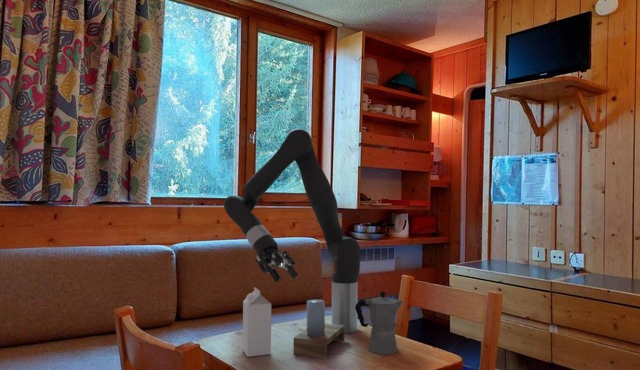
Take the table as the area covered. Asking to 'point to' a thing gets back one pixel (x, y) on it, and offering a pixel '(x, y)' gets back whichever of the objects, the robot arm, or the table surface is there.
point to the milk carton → (256, 325)
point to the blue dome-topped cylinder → (315, 318)
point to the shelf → (318, 341)
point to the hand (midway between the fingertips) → (287, 278)
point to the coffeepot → (381, 323)
